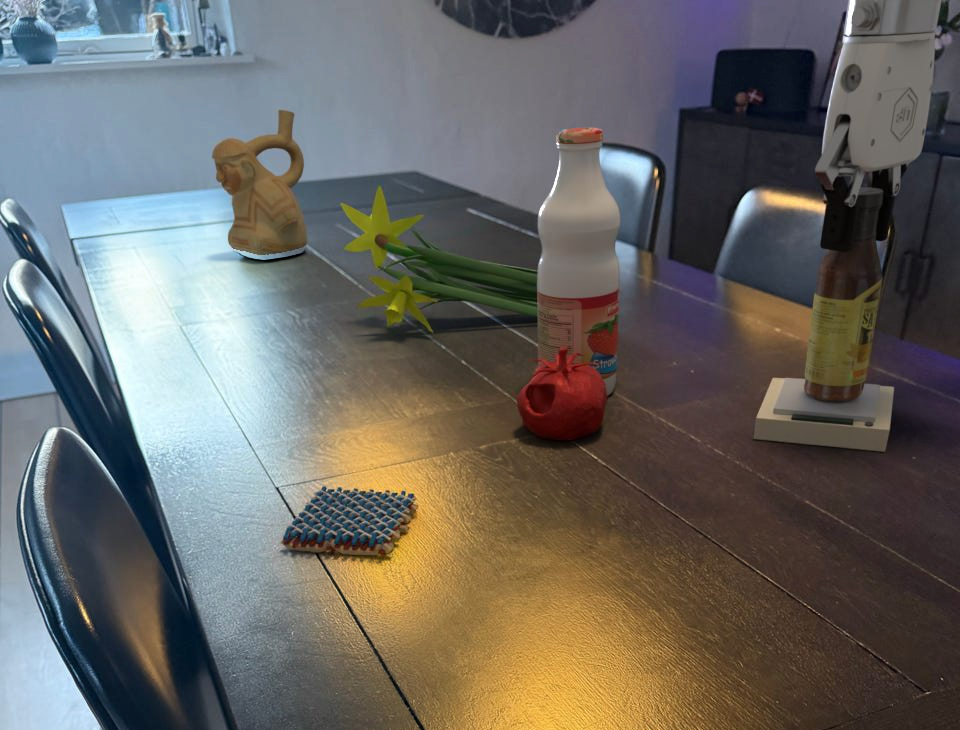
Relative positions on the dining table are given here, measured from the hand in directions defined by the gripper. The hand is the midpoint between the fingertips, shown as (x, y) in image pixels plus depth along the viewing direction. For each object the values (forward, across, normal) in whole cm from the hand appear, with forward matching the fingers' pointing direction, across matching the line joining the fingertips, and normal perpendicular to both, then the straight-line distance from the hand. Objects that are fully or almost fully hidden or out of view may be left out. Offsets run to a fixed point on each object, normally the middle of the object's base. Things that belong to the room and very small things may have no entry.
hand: (853, 242), depth 90 cm
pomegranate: (+19, -21, +19) cm, 34 cm away
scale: (+18, 0, 0) cm, 18 cm away
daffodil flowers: (+19, -2, +61) cm, 64 cm away
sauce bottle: (+16, +1, 0) cm, 16 cm away
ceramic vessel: (+19, +3, +129) cm, 130 cm away
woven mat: (+19, -51, +15) cm, 56 cm away
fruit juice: (+19, -11, +27) cm, 35 cm away
